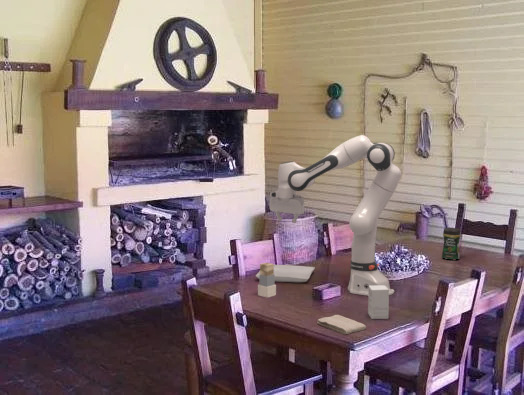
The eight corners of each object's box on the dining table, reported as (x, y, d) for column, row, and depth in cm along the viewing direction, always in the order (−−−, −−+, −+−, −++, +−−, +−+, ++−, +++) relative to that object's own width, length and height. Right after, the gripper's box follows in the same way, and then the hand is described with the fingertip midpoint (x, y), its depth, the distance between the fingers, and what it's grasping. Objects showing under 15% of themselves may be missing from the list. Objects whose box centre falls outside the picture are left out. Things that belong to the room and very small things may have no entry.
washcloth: (336, 319, 283) (336, 312, 283) (367, 330, 269) (367, 323, 269) (314, 325, 276) (314, 317, 276) (345, 336, 262) (345, 328, 262)
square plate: (308, 285, 338) (308, 277, 338) (254, 282, 344) (254, 275, 343) (315, 272, 365) (315, 265, 364) (265, 270, 370) (265, 263, 370)
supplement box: (384, 313, 290) (385, 284, 288) (388, 319, 282) (389, 289, 281) (367, 314, 289) (368, 285, 288) (370, 319, 282) (371, 289, 280)
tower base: (275, 295, 319) (276, 284, 319) (267, 297, 315) (267, 287, 314) (266, 292, 323) (266, 282, 323) (257, 295, 319) (257, 285, 318)
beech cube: (273, 274, 318) (273, 264, 317) (267, 276, 315) (267, 265, 314) (266, 272, 321) (266, 262, 320) (260, 274, 318) (260, 264, 317)
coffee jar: (440, 259, 396) (441, 228, 393) (444, 257, 402) (445, 226, 400) (457, 261, 391) (458, 229, 388) (460, 258, 397) (462, 227, 395)
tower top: (274, 284, 319) (274, 274, 318) (267, 286, 315) (267, 276, 314) (266, 283, 322) (266, 272, 321) (259, 285, 318) (259, 274, 318)
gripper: (307, 195, 332) (307, 223, 334) (275, 191, 345) (275, 218, 347) (299, 196, 327) (299, 224, 329) (267, 193, 341) (267, 220, 343)
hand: (286, 221), depth 338 cm, fingers open, 8 cm apart
